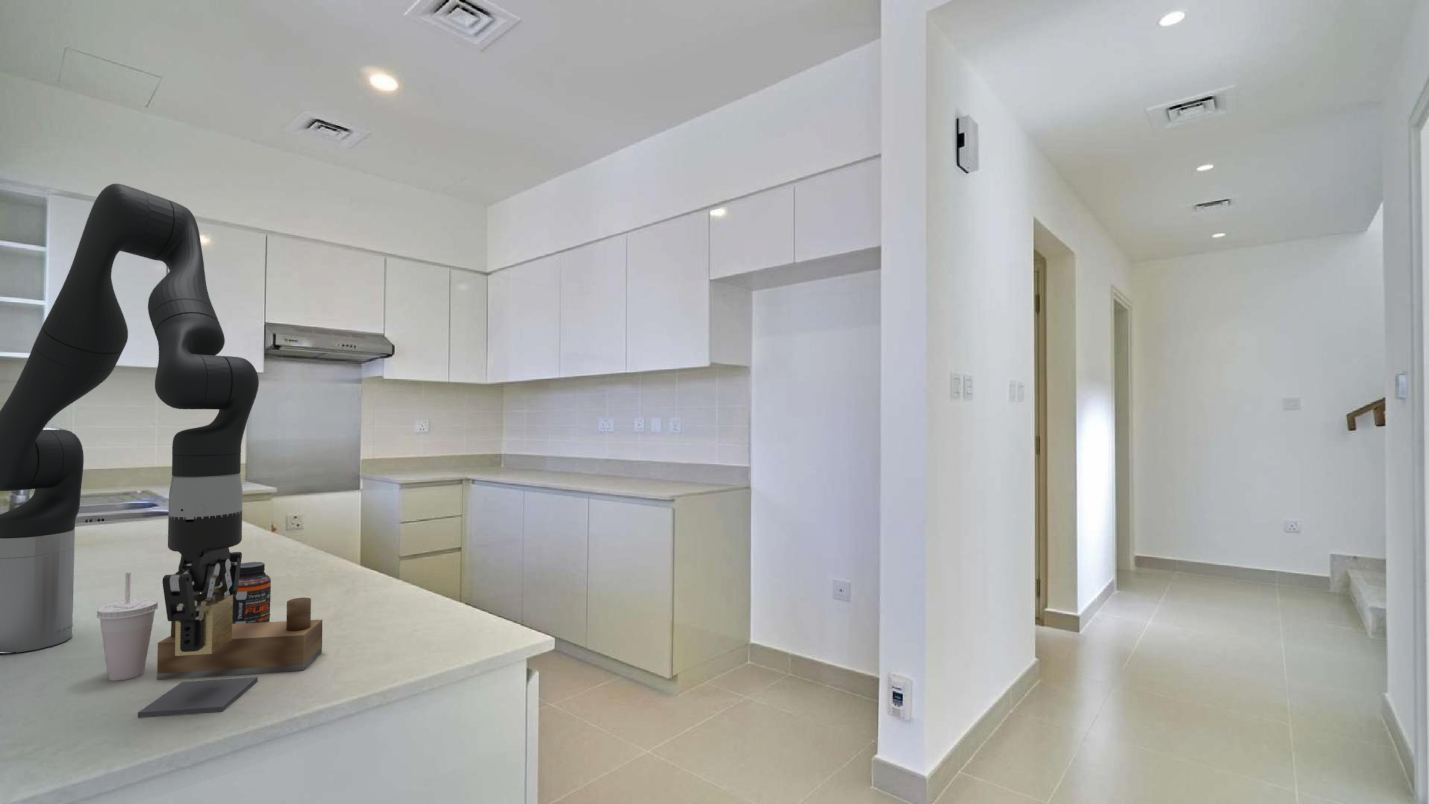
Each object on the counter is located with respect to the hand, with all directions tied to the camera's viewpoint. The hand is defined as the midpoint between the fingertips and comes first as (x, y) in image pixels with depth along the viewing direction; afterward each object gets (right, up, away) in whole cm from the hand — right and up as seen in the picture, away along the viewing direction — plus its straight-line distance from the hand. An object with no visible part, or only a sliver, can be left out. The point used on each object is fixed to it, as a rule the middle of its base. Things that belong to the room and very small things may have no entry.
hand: (204, 642), depth 84 cm
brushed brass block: (0, -1, 0) cm, 1 cm away
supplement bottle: (-11, -7, +24) cm, 28 cm away
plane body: (-2, -7, +11) cm, 13 cm away
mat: (0, -7, 0) cm, 7 cm away
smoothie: (-16, -7, +7) cm, 19 cm away
